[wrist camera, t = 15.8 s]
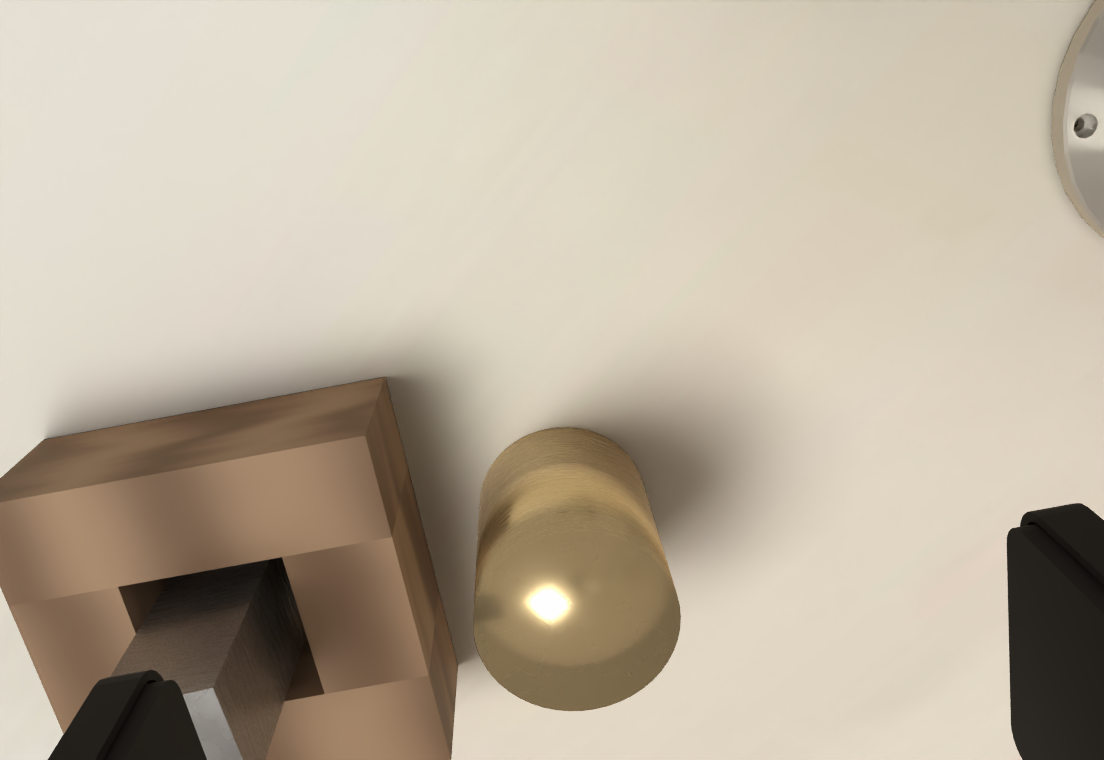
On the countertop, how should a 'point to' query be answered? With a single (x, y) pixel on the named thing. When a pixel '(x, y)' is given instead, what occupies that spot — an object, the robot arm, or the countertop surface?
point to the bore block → (243, 559)
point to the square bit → (225, 652)
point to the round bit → (571, 574)
